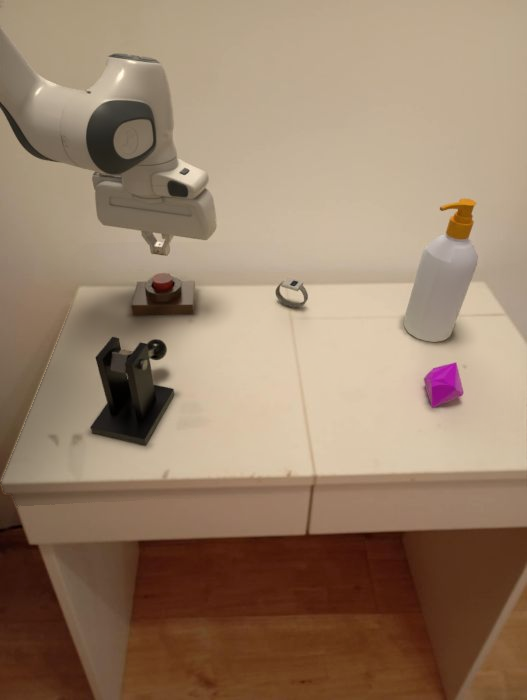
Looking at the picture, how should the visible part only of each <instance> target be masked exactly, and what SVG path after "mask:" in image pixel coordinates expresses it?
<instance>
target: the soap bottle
mask: <svg viewBox="0 0 527 700" xmlns="http://www.w3.org/2000/svg"><path fill="white" fill-rule="evenodd" d="M476 205H477V202H476V201H475V200H473V199H470V198H460V199H459V200H458V202H451V203H447V204H444V205H441V206H440V207H439V211H441V212H444V211H447V210H457V211H455V212H454V213H453V215H452V216H450V218H449V221H448V224H447V227H446V230H445V233H443V234H440V235H438V236H436V237H435V238H434V239H432V240H431V241H430V242H428V243H427V245H426V246H425V248H424V250H423V252H422V254H421V257H420V260H419V264H418V268H417V270H416V271H417V272H416V275H415V278H414V282H413V286H412V289H411V293H410V296H409V299H408V303H407V306H406V311H405V314H404V317H403V326H404V329H405V330H406V332H407V333H408V334H410V335H411V336H413V337H414V338H416V339H419V340H422V341H425V342H431V343H437V342H444V341H446V340H447V339H449V338H450V337H451V336H452V333H453V331H454V328H455V325H456V323H457V320H458V317H459V315H460V313H461V309H462V307H463V303H464V301H465V298H466V296H467V293H468V290H469V287H470V285H471V283H472V280H473V277H474V274H475V272H476V270H477V266H478V259H479V258H478V257H479V255H478V253H477V250H476V248H475V245H474V243H473V241H472V240H471V239H469V238H470V235H471V231H472V229H473V227H474V223H475V222H474V219H473V217H474V215H473V214H472V213H473V210H474V208H475V206H476Z"/></svg>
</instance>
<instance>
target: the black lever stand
mask: <svg viewBox="0 0 527 700" xmlns="http://www.w3.org/2000/svg"><path fill="white" fill-rule="evenodd" d="M147 343H148V342H141V341H140V342H139V343H138V344H137V346H136V347H135V348H134V350H133V351H134V352H133V353H132V354H131V356H130V357H129V358H128V360H127V361H126V363H125V367H126V372H127V373H122V372H118V371H113V370H110V366H111V356H112V352H114V351H117V350H121V349H122V345H121V341H120V338H119V337H117V336H111V338H110V339H109V340H107V342H106V344H105V345H104V346H103V347H102V349H101V350H100V351H99V352H98V354H96V356H95V363H96V366H97V369H98V374H99V377H100V380H101V384H102V389H103V393H104V396H105V399H106V404H105V406H104V407H103V409H102V410H101V411H100V412H99V414H98V416H97V417H96V418H95V420H94V421H93V423H91V425H90V430H91V431H90V432H91V433H92V434H97V435H100V436H105V437H109V438H113V439H117V440H122V441H126V442H130V443H134V444H138V445H141V446H142V445H143V446H146V445H147V444H148V442H149V440H150V439H151V437H152V435H153V433H154V432H155V430H156V427H157V426H158V424H159V423H160V421H161V419H162V417H163V415H164V414H165V412H166V410H167V409H168V407H169V405H170V403H171V402H172V400H173V398H174V396H175V388H171V387H167V386H162V385H158V384H155V383H154V378H153V377H154V376H153V371H152V366H151V359H150V358H149V353H148V347H147Z"/></svg>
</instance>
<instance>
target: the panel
mask: <svg viewBox="0 0 527 700" xmlns="http://www.w3.org/2000/svg"><path fill="white" fill-rule="evenodd" d="M171 276H172V279H173V287H172V288H171V289H169V290H166V291H158V290H155V289H154V288H153V281H152V278H153V277H151V278H149V279H148V280H147V281H137V282H136V285H135V289H134V293H133V296H132V299H131V300H132V301H131V304H130V308H131V312H132V316H163V315H164V316H168V315H169V316H170V315H171V316H173V315H180V316H181V315H194V314H195V301H196V292H197V291H196V281H195V280H180V279H179V278H178V277H176V276H173V275H171Z"/></svg>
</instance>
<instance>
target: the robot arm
mask: <svg viewBox="0 0 527 700" xmlns="http://www.w3.org/2000/svg"><path fill="white" fill-rule="evenodd" d="M7 2H8V0H0V11H2V9H3V8H4V6H5V4H6V3H7ZM172 100H173V99H172V95H171V89H170V83H169V79H168V76H167V73H166V70H165V68H164V65H163V64H162V63H161V62H160V61H159V60H157V59H155V58H153V57H148V56H142V55H134V54H127V53H112V54H110V55H108V56H107V57H106V62H105V68H104V70H103V72H102V74H100V76H99V77H98V79H97V80H96V82H94V83H93V84H92V85H91V86H90V87H88V88H86V89H85V90H83V89H78V88H73V87H68V86H64V85H60V84H58V83H55V82H53V81H50V80H48V79H47V78H45V77H43V76H41V75H40V74H38V73H37V72H36V71H35V70H34V69H33V67H32V66H31V64H29V62H28V61H27V59H26V58H25V56H24V55H23V53H22V52H21V51H20V49H19V48H18V46H17V45H16V44H15V43H14V42H13V40H12V38H11V37H10V36H9V35H8V33H7V31H6V30H5V29H4V27H3V26H2V24H0V110H1V111H2V113H3V115H4V116H5V118H6V121H7V122H8V124H9V126H10V128H11V130H12V132H13V134H14V136H15V138H16V139H17V141H18V142H19V144H20V146H21V147H22V148H23V149H24V150H25V151H26V152H27V153H29V154H30V155H32V157H34V158H37V159H39V160H42V161H47V162H55V163H60V164H61V163H62V164H65V165H69V166H73V167H77V168H80V169H82V170H83V169H84V170H88V171H92V172H93V174H92V177H91V181H92V185H93V189H94V201H95V211H96V216H97V219H98V221H99V222H100V224H101V225H103V226H107V227H113V228H120V229H125V230H126V229H127V230H133V231H139V232H140V234H141V237H142V238H143V239H144V241H145V243H147V245H148V246H149V250H150V254H152V255H157V256H158V255H159V256H165V257H168V256H169V255H170V253H171V247H170V244H171V242H172V241H173V238H174V236H175V237H180V238H187V239H194V240H201V241H208V240H209V239H210V238H211V237H212V236H213V235H214V234H215V232H216V230H217V213H216V206H215V200H214V197H213V194H212V193H211V191H210V190H209V189H207V186H208V184H209V180H210V178H209V174H208V172H207V171H205V170H203V169H201V168H198V167H196V166H194V165H193V164H190V163H187V162H186V161H184V160H182V159H180V158H178V152H177V148H176V146H175V143H174V129H175V119H174V118H175V117H174V108H173V101H172ZM154 234H160V235H161V239H162V240H164V241H158V239H157V238H156V237H155V235H154Z"/></svg>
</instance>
